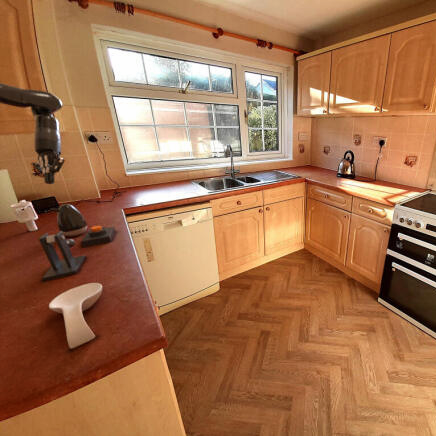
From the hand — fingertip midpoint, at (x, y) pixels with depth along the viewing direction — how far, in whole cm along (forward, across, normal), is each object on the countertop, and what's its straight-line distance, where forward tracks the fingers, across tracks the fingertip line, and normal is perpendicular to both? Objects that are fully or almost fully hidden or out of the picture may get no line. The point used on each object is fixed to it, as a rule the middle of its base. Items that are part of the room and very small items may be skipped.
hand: (49, 183), depth 95 cm
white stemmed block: (+10, -43, +24) cm, 50 cm away
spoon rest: (+50, +35, -19) cm, 63 cm away
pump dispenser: (+17, -15, +22) cm, 31 cm away
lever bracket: (+34, +8, -1) cm, 35 cm away
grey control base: (+22, +1, +19) cm, 29 cm away
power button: (+18, +2, +17) cm, 25 cm away
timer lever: (+26, +7, -2) cm, 27 cm away
